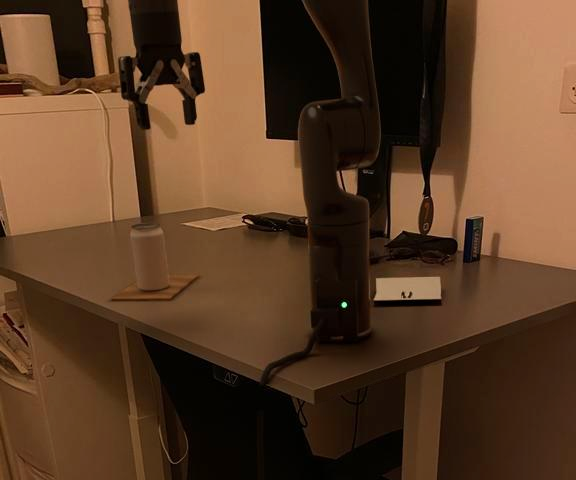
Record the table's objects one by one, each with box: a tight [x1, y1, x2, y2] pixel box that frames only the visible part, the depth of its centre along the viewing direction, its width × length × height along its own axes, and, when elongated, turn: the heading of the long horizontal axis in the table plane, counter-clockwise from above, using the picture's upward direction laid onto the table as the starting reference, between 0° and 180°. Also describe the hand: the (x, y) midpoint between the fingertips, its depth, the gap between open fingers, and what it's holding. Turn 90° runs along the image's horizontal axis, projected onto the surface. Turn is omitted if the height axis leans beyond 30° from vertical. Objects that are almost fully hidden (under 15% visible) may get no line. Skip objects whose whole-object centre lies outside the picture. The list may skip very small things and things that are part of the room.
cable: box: [369, 248, 420, 264], centre depth 169 cm, size 14×28×2 cm, turn 126°
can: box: [129, 222, 170, 291], centre depth 156 cm, size 6×6×12 cm
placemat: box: [111, 274, 199, 302], centre depth 160 cm, size 18×12×1 cm, turn 169°
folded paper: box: [373, 276, 442, 301], centre depth 143 cm, size 12×12×2 cm
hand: (168, 127), depth 130 cm, fingers open, 8 cm apart
